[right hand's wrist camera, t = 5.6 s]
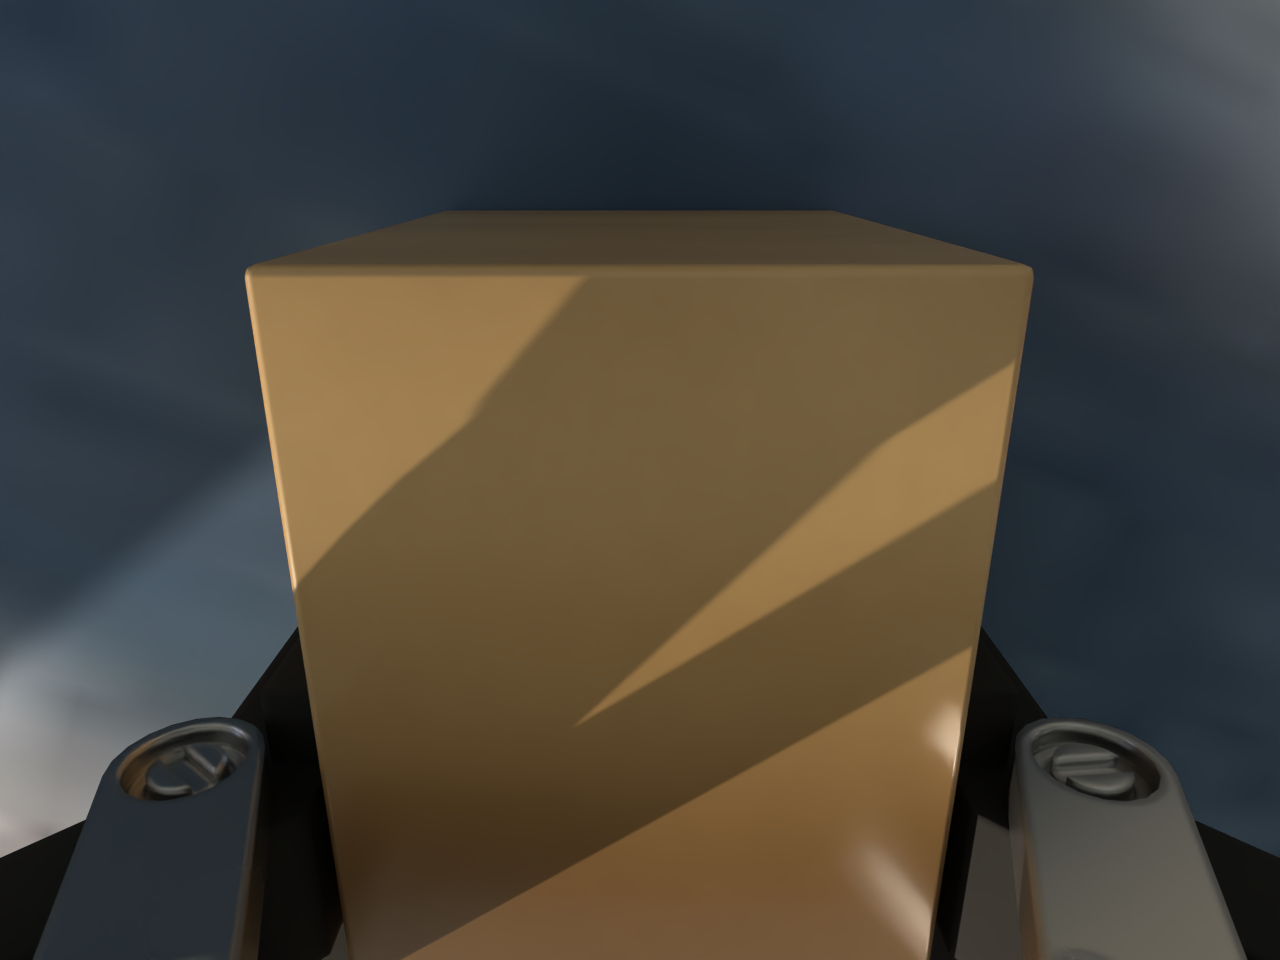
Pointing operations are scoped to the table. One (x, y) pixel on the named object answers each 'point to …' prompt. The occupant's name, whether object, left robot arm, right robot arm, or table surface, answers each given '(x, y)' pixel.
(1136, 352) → the table surface
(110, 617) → the table surface
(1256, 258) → the table surface
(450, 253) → the bar
